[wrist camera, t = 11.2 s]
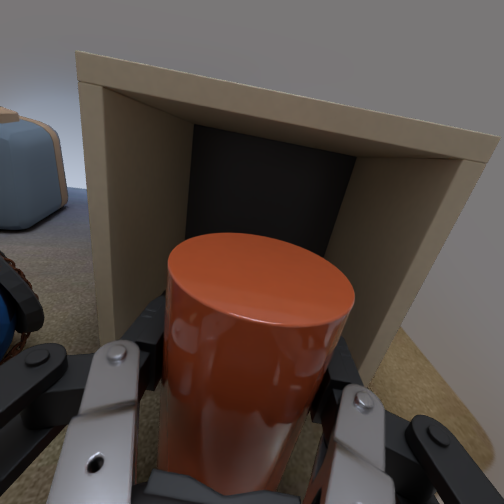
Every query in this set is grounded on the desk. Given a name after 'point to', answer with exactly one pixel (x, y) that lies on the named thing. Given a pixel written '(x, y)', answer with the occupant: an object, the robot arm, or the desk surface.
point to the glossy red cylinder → (244, 355)
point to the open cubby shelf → (265, 187)
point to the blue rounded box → (29, 171)
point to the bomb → (16, 308)
